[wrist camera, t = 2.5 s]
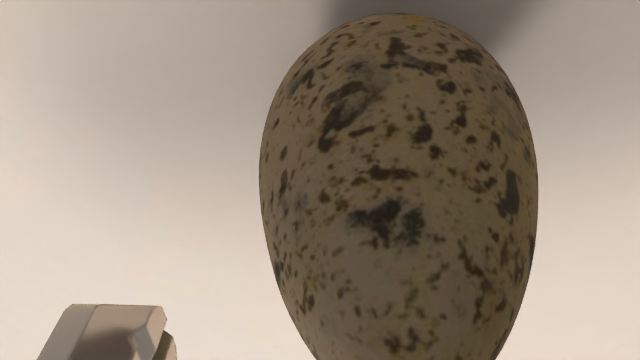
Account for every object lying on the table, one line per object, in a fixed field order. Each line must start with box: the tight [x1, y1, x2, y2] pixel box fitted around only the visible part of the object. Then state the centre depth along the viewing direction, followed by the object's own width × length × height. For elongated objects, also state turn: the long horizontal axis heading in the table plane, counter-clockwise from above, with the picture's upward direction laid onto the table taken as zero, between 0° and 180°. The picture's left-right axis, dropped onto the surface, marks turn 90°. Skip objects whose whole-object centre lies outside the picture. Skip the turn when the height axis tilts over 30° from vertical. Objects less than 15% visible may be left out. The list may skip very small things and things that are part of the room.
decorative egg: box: [259, 13, 538, 360], centre depth 12 cm, size 6×6×10 cm
